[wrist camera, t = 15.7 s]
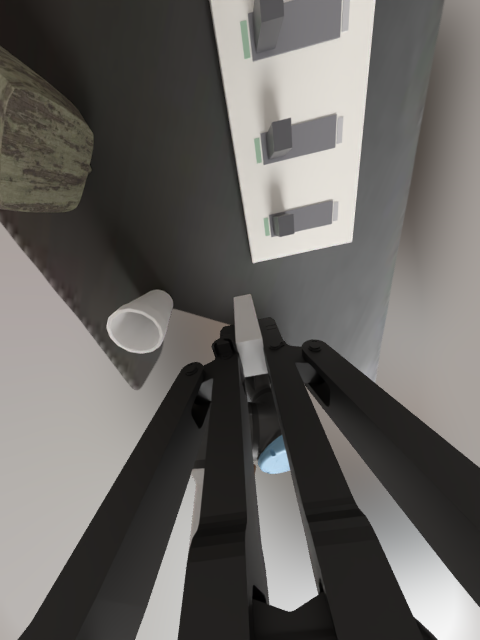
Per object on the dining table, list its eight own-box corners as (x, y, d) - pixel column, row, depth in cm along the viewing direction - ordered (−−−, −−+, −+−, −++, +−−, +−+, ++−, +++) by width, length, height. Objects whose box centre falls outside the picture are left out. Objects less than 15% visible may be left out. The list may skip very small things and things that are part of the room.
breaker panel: (345, 240, 39) (352, 241, 37) (251, 260, 40) (253, 263, 38) (369, -61, 22) (385, -93, 20) (207, -11, 23) (204, -36, 21)
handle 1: (275, 48, 24) (284, 16, 20) (256, 53, 24) (261, 22, 20) (272, 9, 23) (281, -34, 19) (252, 15, 23) (257, -26, 19)
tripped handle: (284, 156, 30) (292, 147, 26) (268, 160, 30) (274, 152, 26) (282, 130, 28) (291, 117, 24) (266, 135, 28) (272, 122, 24)
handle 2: (287, 231, 35) (294, 233, 31) (274, 234, 35) (279, 237, 31) (286, 213, 34) (293, 213, 30) (272, 216, 34) (277, 217, 30)
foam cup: (158, 274, 41) (131, 298, 30) (188, 305, 45) (174, 336, 34) (130, 298, 43) (94, 328, 32) (160, 325, 47) (138, 360, 36)
